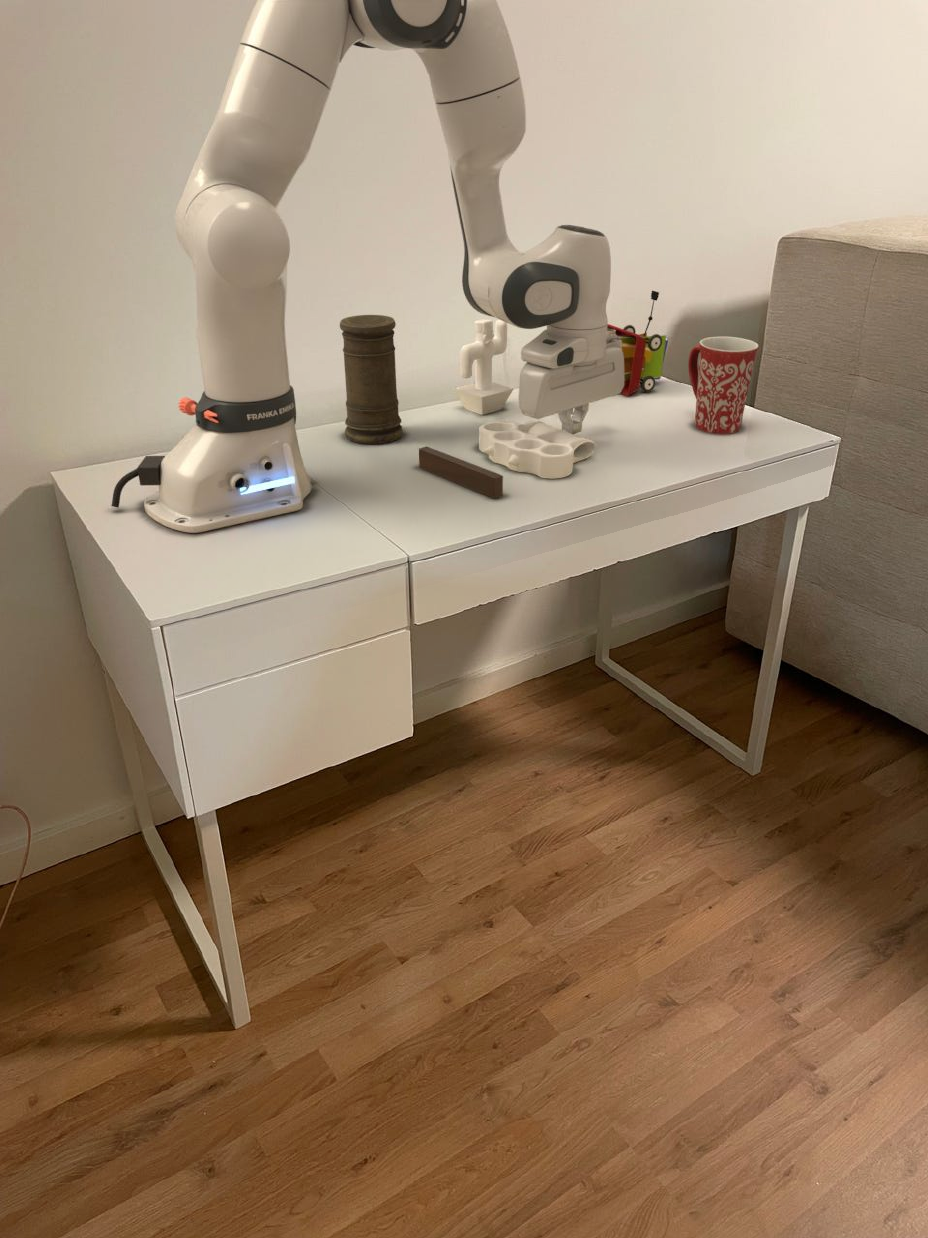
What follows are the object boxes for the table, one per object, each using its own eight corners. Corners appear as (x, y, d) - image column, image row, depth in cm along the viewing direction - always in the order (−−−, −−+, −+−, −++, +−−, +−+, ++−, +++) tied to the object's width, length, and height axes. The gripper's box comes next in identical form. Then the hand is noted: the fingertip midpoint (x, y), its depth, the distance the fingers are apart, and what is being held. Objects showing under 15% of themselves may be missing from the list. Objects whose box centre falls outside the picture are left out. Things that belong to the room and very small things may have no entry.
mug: (758, 431, 156) (771, 346, 149) (712, 439, 152) (723, 352, 146) (709, 409, 165) (719, 328, 159) (665, 416, 162) (673, 334, 155)
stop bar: (494, 499, 132) (495, 478, 130) (419, 467, 142) (418, 448, 140) (502, 496, 132) (503, 475, 131) (427, 465, 143) (426, 445, 141)
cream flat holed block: (610, 463, 143) (534, 486, 135) (530, 432, 156) (457, 451, 148) (611, 441, 141) (535, 463, 134) (531, 411, 154) (457, 430, 146)
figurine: (448, 410, 166) (447, 320, 158) (489, 399, 171) (490, 311, 164) (476, 420, 161) (477, 328, 154) (517, 408, 166) (520, 318, 159)
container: (412, 437, 154) (409, 321, 145) (362, 448, 149) (355, 329, 140) (384, 422, 160) (378, 310, 151) (335, 433, 156) (327, 318, 147)
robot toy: (675, 393, 177) (584, 399, 168) (644, 381, 184) (555, 385, 175) (693, 296, 169) (598, 296, 160) (660, 286, 176) (567, 286, 167)
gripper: (605, 327, 151) (600, 414, 158) (512, 350, 139) (510, 443, 146) (637, 334, 147) (630, 423, 154) (544, 359, 135) (541, 453, 142)
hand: (571, 433), depth 150 cm, fingers closed
